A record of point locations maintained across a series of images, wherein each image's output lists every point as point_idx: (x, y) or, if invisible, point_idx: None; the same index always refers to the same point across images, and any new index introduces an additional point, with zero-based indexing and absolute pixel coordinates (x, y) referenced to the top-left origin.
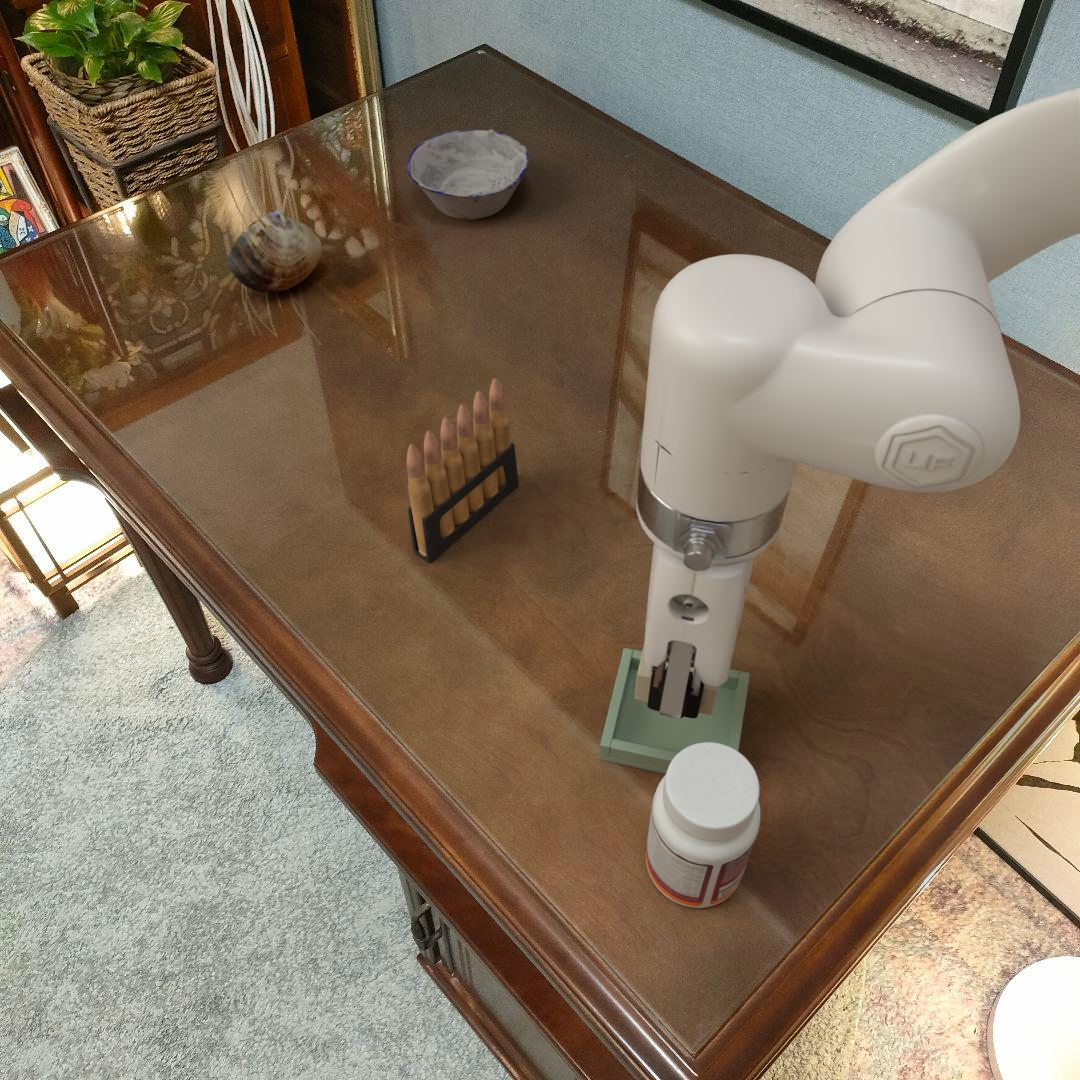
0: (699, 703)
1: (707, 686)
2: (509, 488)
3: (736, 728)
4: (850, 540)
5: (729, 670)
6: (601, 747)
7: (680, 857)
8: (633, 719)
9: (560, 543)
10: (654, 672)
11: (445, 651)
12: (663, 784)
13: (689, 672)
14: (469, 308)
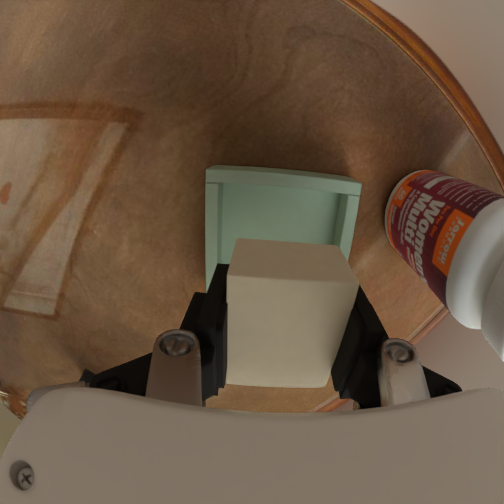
0: (365, 296)
1: (350, 301)
2: (92, 378)
3: (298, 182)
4: (29, 99)
5: (499, 403)
6: None
7: None
8: None
9: (112, 347)
10: (348, 396)
11: (237, 404)
12: (478, 328)
13: (372, 374)
14: (16, 375)
